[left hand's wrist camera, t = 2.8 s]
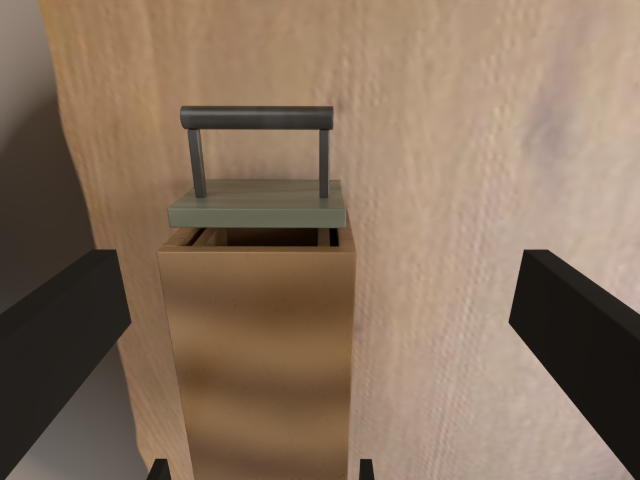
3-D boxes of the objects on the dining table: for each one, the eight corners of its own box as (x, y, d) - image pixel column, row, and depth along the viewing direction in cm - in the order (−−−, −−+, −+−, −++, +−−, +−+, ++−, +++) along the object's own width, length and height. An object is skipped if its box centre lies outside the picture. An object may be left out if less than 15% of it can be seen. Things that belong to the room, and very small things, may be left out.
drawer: (195, 102, 27) (151, 107, 20) (341, 103, 27) (349, 108, 20) (224, 370, 36) (201, 439, 29) (336, 370, 36) (339, 439, 29)
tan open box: (203, 204, 31) (155, 251, 22) (346, 205, 31) (356, 252, 22) (224, 392, 38) (195, 485, 29) (341, 392, 38) (347, 485, 29)
